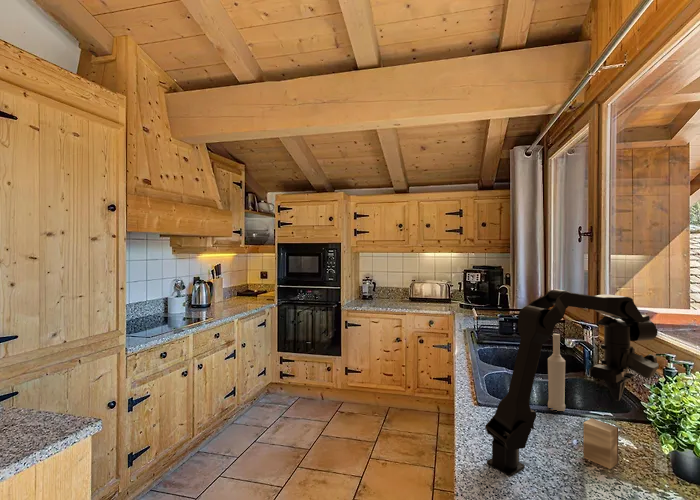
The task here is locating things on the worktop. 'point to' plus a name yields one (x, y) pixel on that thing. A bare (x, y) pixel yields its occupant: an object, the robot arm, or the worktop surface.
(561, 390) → the bottle
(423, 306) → the worktop surface
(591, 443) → the birch block
